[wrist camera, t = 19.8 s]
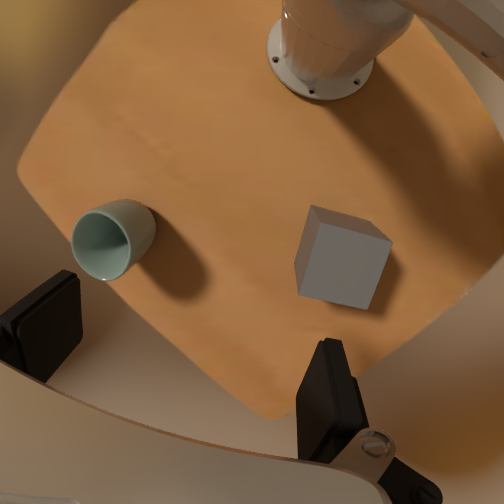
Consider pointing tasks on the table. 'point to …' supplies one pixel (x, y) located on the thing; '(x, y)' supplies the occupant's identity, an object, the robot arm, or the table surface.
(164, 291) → the table surface
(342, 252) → the matte gray cube
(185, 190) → the table surface
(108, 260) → the cup
